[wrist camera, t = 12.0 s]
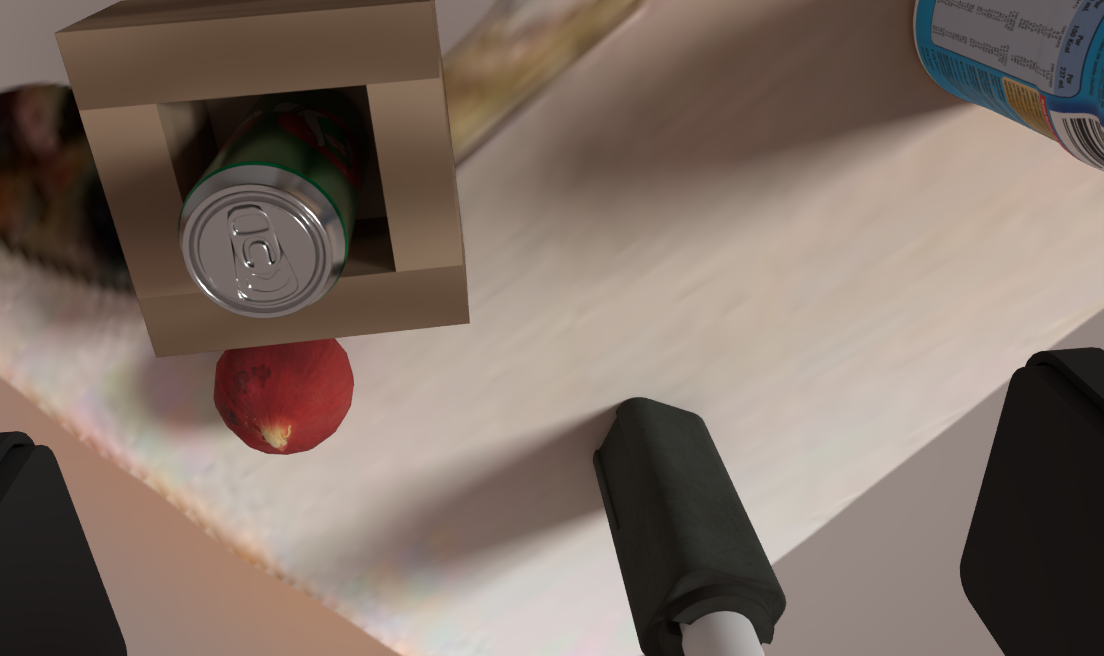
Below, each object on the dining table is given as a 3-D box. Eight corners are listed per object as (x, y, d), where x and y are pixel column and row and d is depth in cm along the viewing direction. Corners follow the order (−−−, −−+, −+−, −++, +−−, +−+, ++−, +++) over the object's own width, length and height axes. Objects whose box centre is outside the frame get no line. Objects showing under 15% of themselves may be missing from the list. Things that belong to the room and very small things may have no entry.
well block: (121, 0, 35) (54, 33, 29) (431, -25, 36) (430, 1, 30) (198, 280, 41) (156, 357, 35) (464, 253, 42) (469, 323, 36)
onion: (229, 388, 44) (189, 492, 37) (235, 280, 41) (194, 369, 34) (352, 403, 45) (336, 506, 38) (366, 298, 42) (352, 388, 35)
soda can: (265, 208, 39) (199, 343, 28) (229, 90, 36) (143, 188, 26) (383, 189, 39) (362, 315, 28) (355, 70, 36) (320, 159, 26)
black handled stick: (626, 391, 46) (797, 884, 24) (713, 418, 48) (949, 908, 26) (585, 468, 48) (710, 989, 26) (670, 492, 50) (855, 1006, 28)
